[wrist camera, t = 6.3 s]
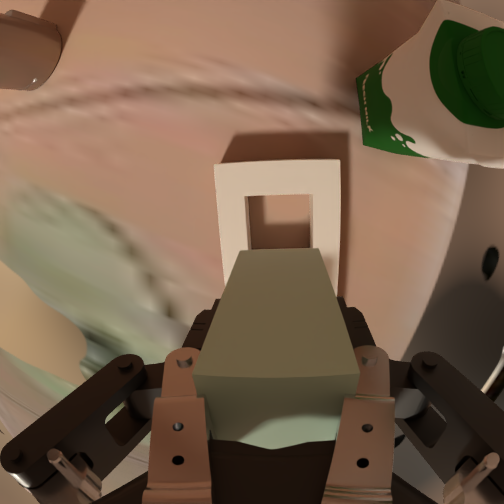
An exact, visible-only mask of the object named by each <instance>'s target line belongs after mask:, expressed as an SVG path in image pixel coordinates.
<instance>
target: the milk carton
mask: <svg viewBox="0 0 504 504" xmlns="http://www.w3.org/2000/svg"><path fill="white" fill-rule="evenodd" d="M356 82H357V90H358V98H359V106H360V115H361V126H362V137H363V145H365V146H369V147H373V148H377V149H380V150H384V151H387V152H391V153H396V154H402V155H409V156H416V157H424V158H433V159H441V160H448V161H456V162H463V163H471V164H480V165H482V166H485V167H492V168H504V22H502V21H500V20H496V19H494V18H492V17H490V16H487V15H485V14H483V13H480V12H478V11H475V10H473V9H470V8H468V7H465V6H462V5H459V4H456V3H453V2H450V1H447V0H437V1H436V3H435V4H434V6H433V8H432V10H431V11H430V13H429V15H428V17H427V18H426V20H425V22H424V23H423V25H422V27H421V28H420V30H419V32H418V33H417V34H415V35H414V36H413V37H411V38H410V39H409V40H407V41H406V42H405V43H404V44H402V45H401V46H400V47H398V48H397V49H396V50H395V51H393V52H392V53H391V54H390V55H388V56H387V57H386V58H384V59H383V60H382V61H381V62H379V63H378V64H376V65H375V66H373V67H372V68H370V69H369V70H367V71H366V72H365V73H363V74H362V75H360V76H359V77H357V78H356Z"/></svg>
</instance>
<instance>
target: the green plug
mask: <svg viewBox="0 0 504 504" xmlns="http://www.w3.org/2000/svg"><path fill="white" fill-rule="evenodd" d="M192 377H193V381H194V384H195V388H196V392H197V394H205V395H206V397H207V401H208V405H209V410H210V415H211V419H212V423H213V427H214V430H215V434H216V436H217V438H218V440H228V441H239V442H242V443H246V444H250V445H254V446H258V447H262V448H267V449H278V448H283V447H288V446H292V445H297V444H301V443H305V442H312V441H328V440H333V439H334V436H335V433H336V429H337V425H338V421H339V417H340V412H341V407H342V403H343V398H344V395H345V393H346V394H356V390H357V385H358V381H359V377H360V370H359V367H358V364H357V360H356V357H355V354H354V350H353V347H352V344H351V341H350V338H349V334H348V331H347V328H346V325H345V322H344V319H343V316H342V313H341V310H340V307H339V304H338V301H337V298H336V295H335V292H334V289H333V286H332V284H331V281H330V278H329V275H328V272H327V270H326V267H325V264H324V261H323V259H322V256H321V253H320V251H319V248H308V249H271V250H240V251H239V254H238V256H237V259H236V261H235V264H234V266H233V269H232V271H231V274H230V276H229V279H228V282H227V284H226V287H225V289H224V292H223V294H222V297H221V300H220V302H219V305H218V307H217V310H216V312H215V315H214V318H213V320H212V323H211V325H210V328H209V331H208V333H207V336H206V338H205V341H204V344H203V346H202V349H201V352H200V354H199V357H198V359H197V362H196V365H195V367H194V370H193V373H192Z"/></svg>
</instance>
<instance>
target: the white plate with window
mask: <svg viewBox="0 0 504 504" xmlns="http://www.w3.org/2000/svg"><path fill="white" fill-rule="evenodd" d="M214 175H215V187H216V199H217V210H218V221H219V232H220V242H221V252H222V262H223V271H224V281H225V287H226V284H227V282H228V279H229V276H230V274H231V271H232V269H233V266H234V264H235V261H236V259H237V256H238V254H239V251H240V250H271V249H251V233H250V218H249V203H248V196H259V195H287V194H309V198H310V248H319V251H320V253H321V256H322V259H323V261H324V264H325V267H326V270H327V272H328V275H329V278H330V281H331V284H332V286H333V289H334V292H335V295H336V297H337V287H338V271H339V251H340V212H341V183H340V160H338V159H281V160H258V161H241V162H227V163H218V164H214ZM287 249H308V248H287Z"/></svg>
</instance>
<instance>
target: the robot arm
mask: <svg viewBox="0 0 504 504" xmlns="http://www.w3.org/2000/svg"><path fill="white" fill-rule="evenodd" d="M56 28H57V25H56V24H53V23H51V22H48V21H45V20H43V19H40V18H37V17H34V16H31V15H28V14H25V13H22V12H19V11H16V10H9V11H8V12H6V13H5V14H2V13H0V89H14V90H27V91H30V90H34V89H37V88H38V87H40V86H41V85H42V84H43V83H44V82H45V81H46V80H47V79H48V77H49V76H50V75H51V73H52V72H53V70H54V68H55V66H56V64H57V62H58V59H59V56H60V52H61V46H62V41H61V36H60V34H59V33H58V32H57V30H56ZM336 298H337V301H338V304H339V307H340V310H341V313H342V316H343V319H344V322H345V325H346V328H347V331H348V334H349V338H350V341H351V344H352V347H353V350H354V354H355V357H356V360H357V364H358V367H359V370H360V377H359V381H358V385H357V390H356V394H346V393H345V395H344V398H343V403H342V407H341V412H340V417H339V421H338V425H337V429H336V433H335V436H334V439H333V440H328V441H312V442H305V443H301V444H297V445H292V446H288V447H283V448H278V449H267V448H262V447H258V446H254V445H250V444H246V443H242V442H239V441H228V440H218V438H217V436H216V434H215V430H214V427H213V423H212V419H211V415H210V410H209V405H208V401H207V397H206V395H205V394H197V392H196V388H195V384H194V381H193V377H192V373H193V370H194V367H195V365H196V362H197V359H198V357H199V354H200V352H201V349H202V346H203V344H204V341H205V338H206V336H207V333H208V331H209V328H210V325H211V323H212V320H213V318H214V315H215V312H216V310H217V307H218V305H219V302H220V300H221V299H216V300H215V302H214V305H213V307H212V309H211V310H203V311H202V312H201V313H200V314H198V315H197V316H196V318H195V320H194V322H193V325H192V327H191V330H190V331H189V333H188V335H187V337H186V339H185V341H184V343H183V346H182V348H179V349H176V350H174V351H172V352H171V353H169V354H168V355H167V357H166V359H165V362H163V363H157V364H149V365H144V362H143V360H142V358H141V357H139V356H137V355H134V354H126V355H121V356H119V357H117V358H115V359H113V360H112V361H111V362H110V363H108V364H107V365H106V366H105V367H103V368H102V369H101V370H99V371H98V372H97V373H96V374H94V375H93V376H92V377H91V378H89V379H88V380H87V381H86V382H84V383H83V384H82V385H80V386H79V387H78V388H77V389H75V390H74V391H73V392H72V393H70V394H69V395H68V396H67V397H65V398H64V399H63V400H61V401H60V402H59V403H58V404H56V405H55V406H54V407H53V408H51V409H50V410H49V411H48V412H46V413H45V414H44V415H42V416H41V417H40V418H39V419H37V420H36V421H35V422H34V423H32V424H31V425H30V426H29V427H27V428H26V429H25V430H24V431H22V432H21V433H20V434H18V435H17V436H16V437H15V438H13V439H12V440H11V441H10V442H9V443H7V444H6V445H5V446H4V447H3V449H2V451H1V455H0V462H1V465H2V466H3V468H4V469H5V470H6V471H7V472H8V473H9V474H10V475H11V476H12V477H13V478H14V479H15V480H17V481H18V483H19V484H20V485H21V486H22V487H23V488H24V489H26V490H27V491H28V492H29V493H31V494H32V495H33V496H34V497H35V498H36V499H37V501H38V502H39V503H40V504H438V503H436V502H435V501H433V500H432V499H430V498H429V497H427V496H426V495H424V494H423V493H421V492H420V491H419V490H417V489H416V488H414V487H413V486H411V485H410V484H409V483H407V482H406V481H404V480H403V479H402V478H400V477H399V476H397V475H396V474H395V473H393V472H392V468H393V454H394V433H395V423H396V424H397V425H398V426H399V428H400V429H401V430H402V431H403V433H404V434H405V435H406V436H407V438H408V439H409V440H410V441H411V442H412V444H413V445H414V446H415V448H416V449H417V450H418V451H419V453H420V454H421V455H422V456H423V457H424V459H425V460H426V461H427V463H428V464H429V465H430V466H431V467H432V469H433V470H434V471H435V473H436V474H437V475H438V476H439V478H440V479H441V480H442V481H443V482H444V484H445V486H444V489H443V497H444V499H443V503H444V504H504V411H503V410H502V409H500V408H499V407H498V406H497V405H496V404H495V403H494V402H493V401H492V400H491V399H490V398H488V397H487V396H486V395H485V394H484V393H483V392H482V391H481V390H480V389H478V388H477V387H476V386H475V385H474V384H473V383H472V382H471V381H469V380H468V379H467V378H466V377H465V376H464V375H462V374H461V373H460V372H459V371H458V370H457V369H456V368H454V367H453V366H452V365H451V364H450V363H449V362H447V361H446V360H445V359H444V358H443V357H442V356H440V355H438V354H436V353H433V352H420V353H417V354H416V355H415V356H413V358H412V360H411V362H401V361H394V360H391V359H389V356H388V354H387V353H386V352H385V351H384V350H383V349H381V348H379V347H376V344H375V342H374V340H373V337H372V335H371V332H370V330H369V328H368V325H367V323H366V322H365V319H364V316H363V314H362V313H361V312H360V311H359V310H358V309H356V308H355V307H347V306H346V304H345V301H344V298H343V297H342V296H341V297H336ZM122 402H123V403H124V405H125V406H124V407H123V408H122V409H121V410H120V411H119V412H118V413H117V414H116V415H115V416H114V417H113V418H112V419H110V420H109V421H108V422H107V423H106V424H105V420H106V417H107V416H108V415H109V414H110V413H111V412H112V411H113V410H114V409H115V408H116V407H117V406H119V405H120V404H121V403H122ZM431 404H433V405H434V406H435V407H436V408H437V409H438V410H439V411H440V413H441V414H442V415H443V416H444V417H445V419H446V422H447V423H446V422H445V421H444V420H443V419H442V418H441V417H440V416H439V414H438V413H437V412H436V411H435V410H434V409H433V408H432V407H431ZM150 431H151V438H150V451H149V466H148V471H147V472H145V473H143V474H142V475H140V476H138V477H137V478H135V479H133V480H132V481H130V482H128V483H127V484H125V485H123V486H121V487H120V488H118V489H116V490H114V491H112V492H111V493H109V494H107V495H105V496H103V497H101V496H102V494H101V489H102V483H101V481H102V480H103V479H104V478H105V477H106V476H107V475H108V474H109V473H110V472H111V471H112V470H113V469H114V468H115V467H116V466H117V465H118V464H119V463H120V462H121V461H122V460H123V459H124V458H125V457H126V456H127V455H128V454H129V453H130V452H131V451H132V450H133V449H134V448H135V447H136V446H137V445H138V444H139V443H140V441H141V440H142V439H143V438H144V437H145V436H146V435H147V434H148V433H149V432H150Z"/></svg>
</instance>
